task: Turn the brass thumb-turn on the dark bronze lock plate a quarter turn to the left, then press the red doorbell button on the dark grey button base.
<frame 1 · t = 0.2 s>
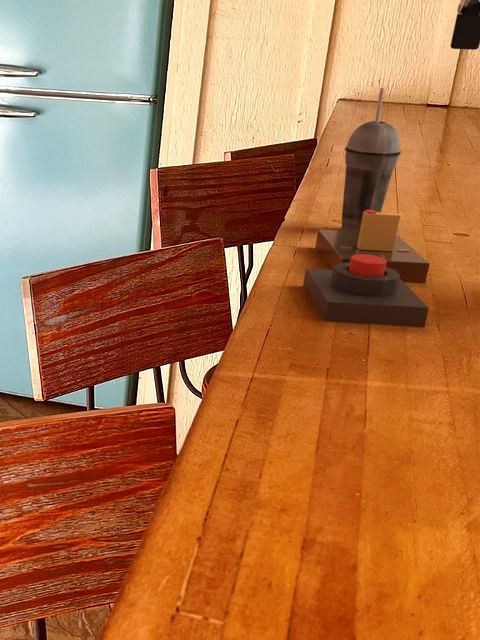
hand: (478, 51, 105), 26 cm above the breakfast bar, tool pointing down, fingers open, 9 cm apart
bell button: (367, 266, 95), point 4 cm above the breakfast bar, slide at 0.1 cm
dark grey button base: (359, 305, 97), on the breakfast bar
lock turn: (378, 230, 108), point 5 cm above the breakfast bar, hinge at 0.0°
lock plate: (366, 264, 112), on the breakfast bar
beverage cup: (357, 233, 127), on the breakfast bar
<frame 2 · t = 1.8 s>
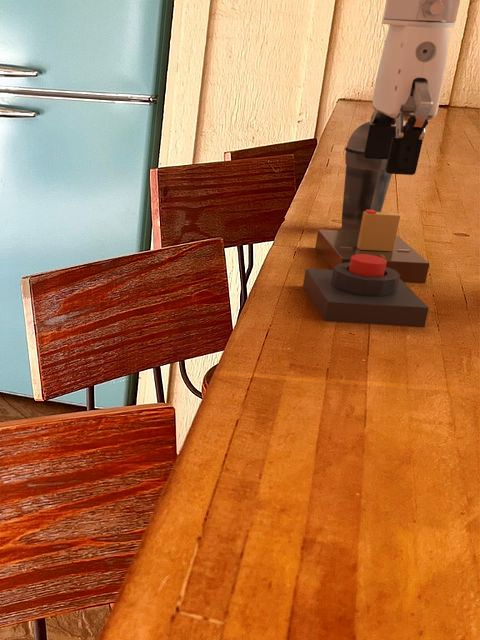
hand: (387, 165, 106), 13 cm above the breakfast bar, tool pointing down, fingers open, 9 cm apart
nothing on the breakfast bar moved.
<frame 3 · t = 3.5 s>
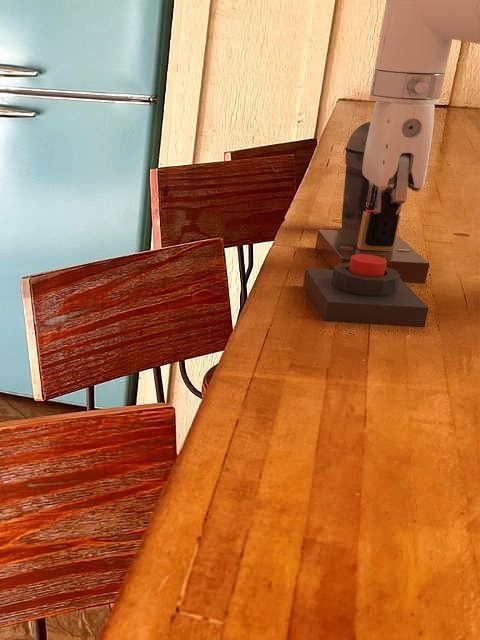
hand: (376, 242, 109), 3 cm above the breakfast bar, tool pointing down, fingers closed
lock turn: (378, 230, 108), point 5 cm above the breakfast bar, hinge at 0.0°, touching gripper
everything else where it was.
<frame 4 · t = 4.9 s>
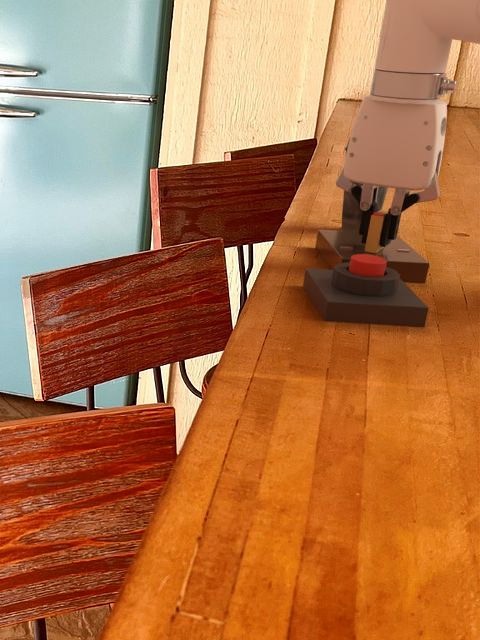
hand: (376, 242, 109), 3 cm above the breakfast bar, tool pointing down, fingers closed
lock turn: (378, 230, 108), point 5 cm above the breakfast bar, hinge at 60.6°, touching gripper
everything else where it was.
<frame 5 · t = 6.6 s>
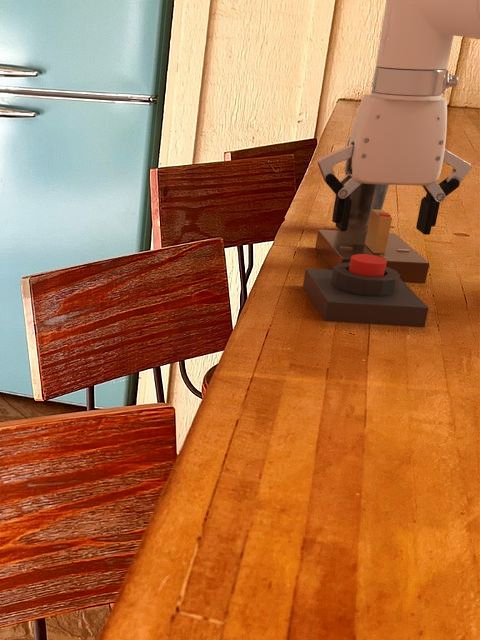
hand: (381, 230, 108), 5 cm above the breakfast bar, tool pointing down, fingers open, 9 cm apart
lock turn: (378, 230, 108), point 5 cm above the breakfast bar, hinge at 89.9°
everything else where it was.
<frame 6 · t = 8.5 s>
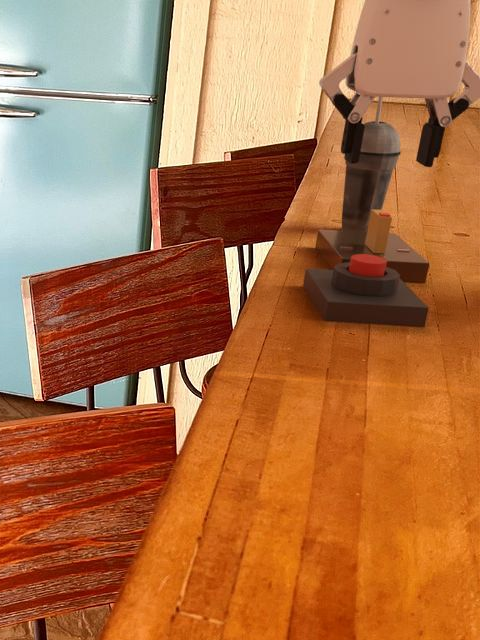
hand: (387, 161, 91), 16 cm above the breakfast bar, tool pointing down, fingers open, 6 cm apart
nothing on the breakfast bar moved.
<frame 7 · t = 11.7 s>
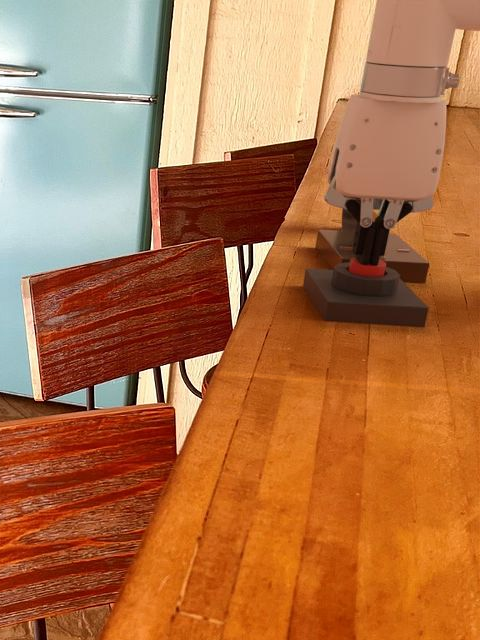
hand: (366, 261, 95), 5 cm above the breakfast bar, tool pointing down, fingers closed
bell button: (366, 269, 95), point 4 cm above the breakfast bar, slide at -0.2 cm, touching gripper
everything else where it was.
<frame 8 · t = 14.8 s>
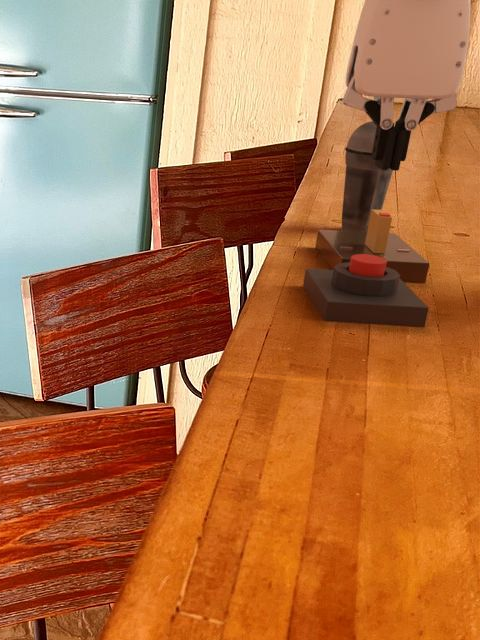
hand: (386, 167, 91), 15 cm above the breakfast bar, tool pointing down, fingers closed
bell button: (367, 266, 95), point 4 cm above the breakfast bar, slide at 0.1 cm
everything else where it was.
at the end: lock turn at +90° (first picture: +0°); bell button pushed in 1.1 cm at the most during the clip, back to where it started at the end; bell button slide at 0.1 cm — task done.
